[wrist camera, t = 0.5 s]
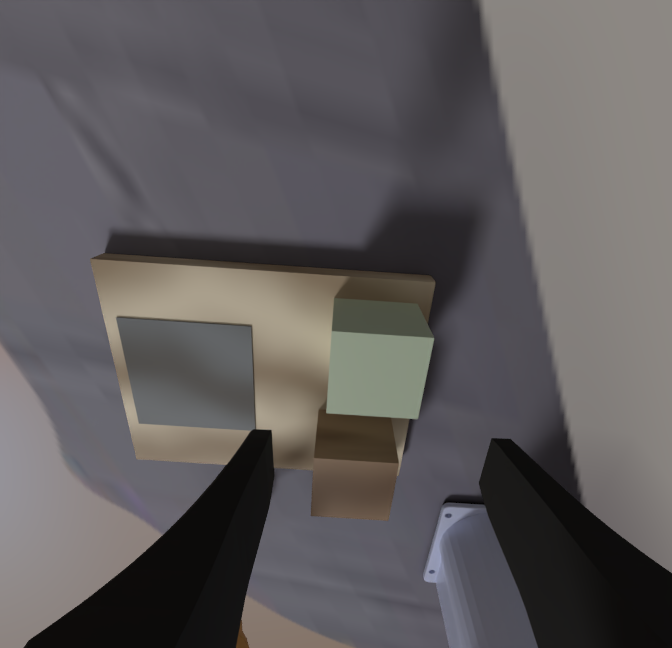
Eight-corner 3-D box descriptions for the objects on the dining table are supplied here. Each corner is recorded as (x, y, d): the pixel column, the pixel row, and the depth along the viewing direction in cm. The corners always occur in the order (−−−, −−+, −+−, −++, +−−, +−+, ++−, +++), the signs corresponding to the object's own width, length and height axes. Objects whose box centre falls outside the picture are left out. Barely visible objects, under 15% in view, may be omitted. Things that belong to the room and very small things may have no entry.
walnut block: (381, 466, 24) (388, 520, 21) (315, 462, 24) (310, 515, 21) (390, 413, 23) (399, 463, 19) (318, 409, 23) (313, 458, 19)
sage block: (405, 374, 21) (417, 419, 18) (329, 369, 21) (326, 413, 18) (417, 303, 19) (434, 338, 16) (334, 298, 19) (331, 331, 16)
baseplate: (396, 462, 26) (398, 476, 25) (145, 446, 26) (135, 460, 25) (430, 275, 20) (436, 283, 19) (104, 253, 20) (88, 259, 19)
